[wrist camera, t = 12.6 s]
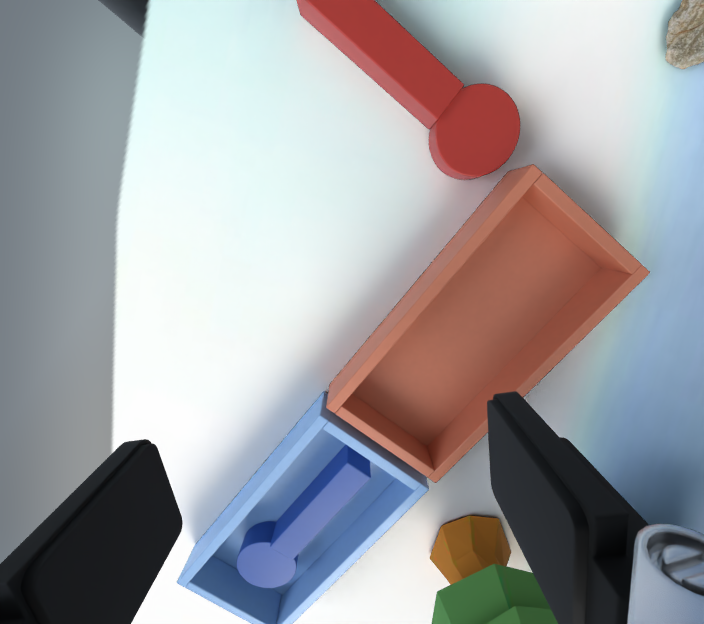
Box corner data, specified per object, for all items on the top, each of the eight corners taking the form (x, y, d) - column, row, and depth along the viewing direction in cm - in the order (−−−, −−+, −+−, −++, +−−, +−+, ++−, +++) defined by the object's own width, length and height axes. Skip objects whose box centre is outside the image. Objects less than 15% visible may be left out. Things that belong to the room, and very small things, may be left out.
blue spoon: (383, 464, 25) (385, 487, 23) (279, 573, 28) (273, 603, 26) (334, 431, 24) (332, 452, 22) (233, 546, 27) (222, 574, 25)
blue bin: (194, 545, 28) (176, 583, 25) (324, 390, 24) (319, 414, 21) (285, 597, 29) (277, 638, 26) (421, 458, 25) (429, 489, 23)
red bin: (329, 384, 24) (325, 407, 21) (508, 170, 20) (533, 163, 17) (426, 453, 25) (435, 483, 22) (611, 264, 22) (651, 272, 19)
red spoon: (336, -45, 18) (334, -81, 15) (522, 131, 20) (542, 120, 18) (286, 36, 19) (277, 12, 16) (469, 195, 21) (482, 193, 18)
